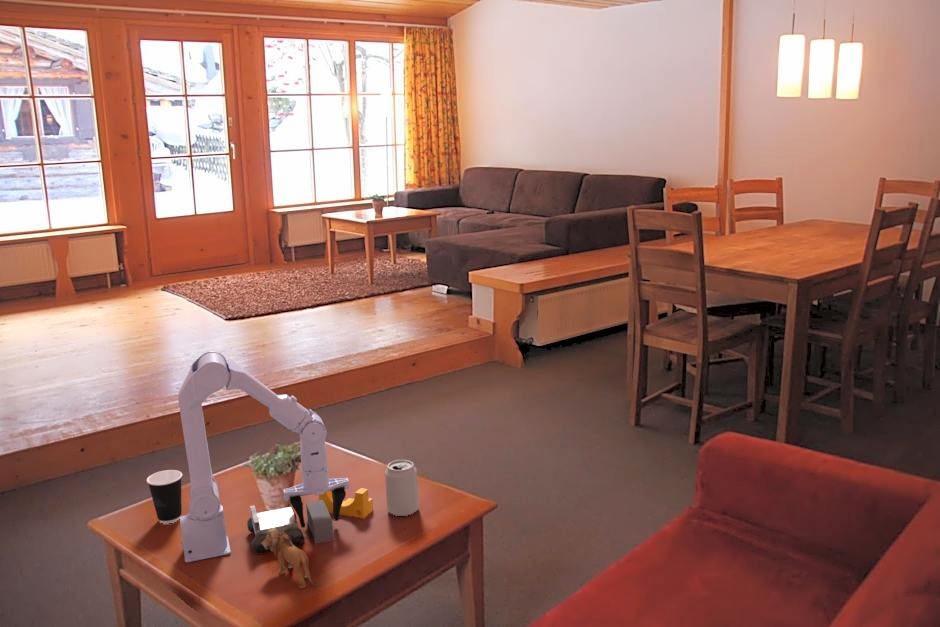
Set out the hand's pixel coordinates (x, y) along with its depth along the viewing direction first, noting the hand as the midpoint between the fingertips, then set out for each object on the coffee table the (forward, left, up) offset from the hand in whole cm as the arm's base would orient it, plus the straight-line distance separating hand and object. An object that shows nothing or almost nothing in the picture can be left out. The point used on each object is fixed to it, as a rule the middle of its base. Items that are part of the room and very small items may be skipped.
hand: (319, 522), depth 194 cm
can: (+20, +1, -2) cm, 20 cm away
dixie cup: (-32, +20, -2) cm, 38 cm away
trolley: (-10, 0, -2) cm, 10 cm away
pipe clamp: (+8, +7, -2) cm, 11 cm away
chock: (0, 0, -2) cm, 2 cm away
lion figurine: (-9, -17, -2) cm, 20 cm away
